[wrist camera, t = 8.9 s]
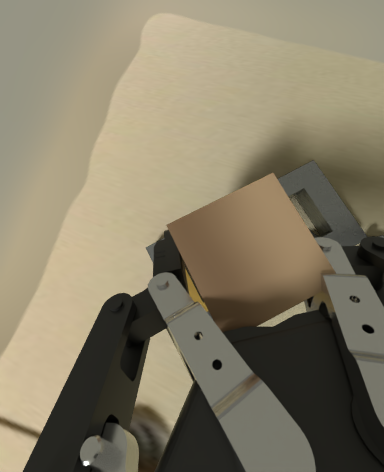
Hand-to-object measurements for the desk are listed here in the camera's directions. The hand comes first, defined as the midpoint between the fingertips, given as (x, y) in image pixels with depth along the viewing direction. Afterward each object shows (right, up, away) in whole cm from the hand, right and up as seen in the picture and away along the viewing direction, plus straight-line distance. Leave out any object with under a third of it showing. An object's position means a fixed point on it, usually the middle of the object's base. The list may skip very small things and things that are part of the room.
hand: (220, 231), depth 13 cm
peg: (+1, -3, +4) cm, 5 cm away
